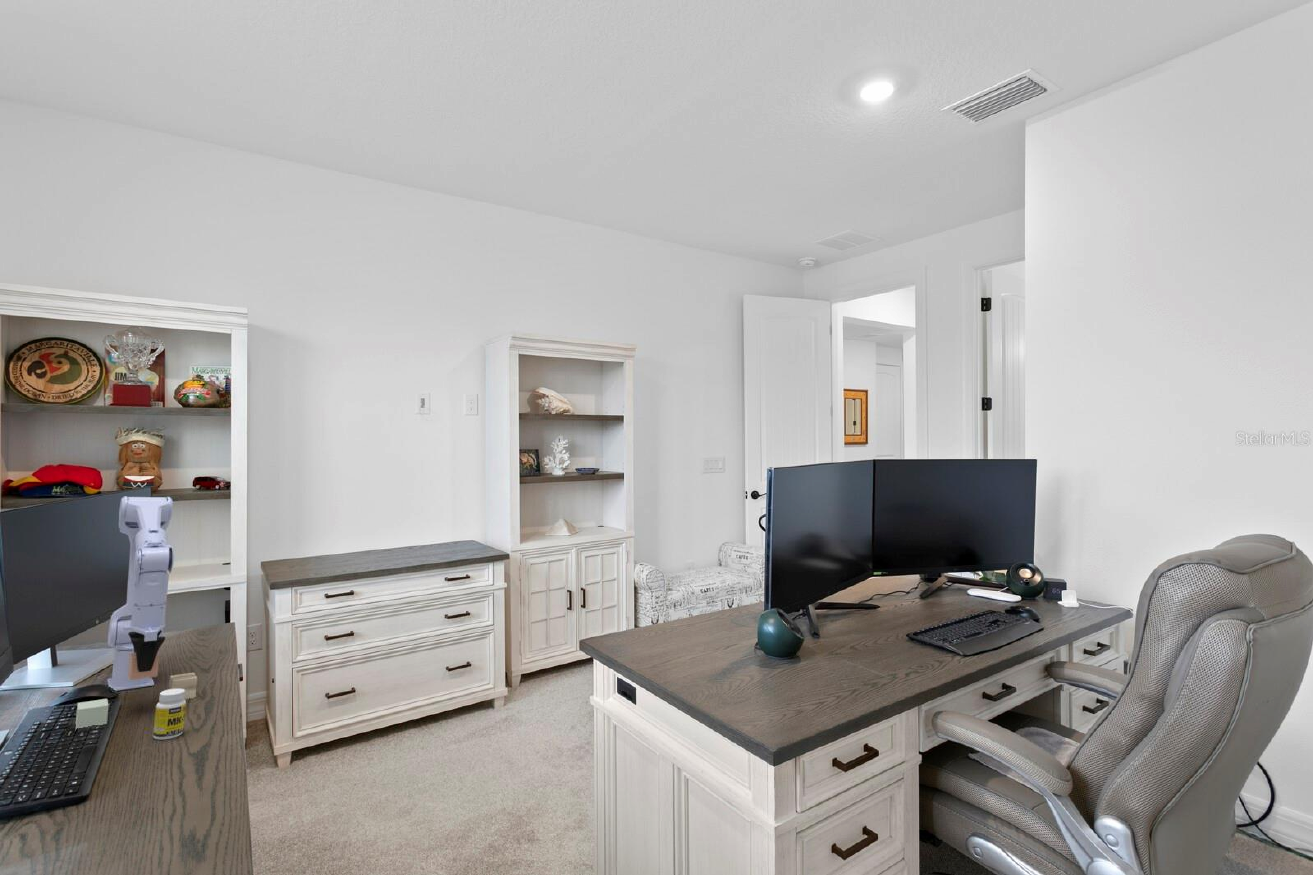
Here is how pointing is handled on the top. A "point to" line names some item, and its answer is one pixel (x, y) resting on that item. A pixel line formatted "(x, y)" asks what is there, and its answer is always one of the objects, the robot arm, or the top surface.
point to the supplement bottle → (169, 714)
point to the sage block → (92, 713)
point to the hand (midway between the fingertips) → (143, 668)
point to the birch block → (184, 684)
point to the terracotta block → (138, 675)
